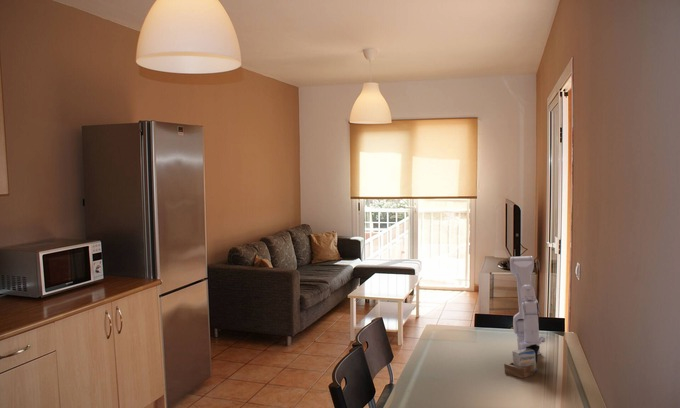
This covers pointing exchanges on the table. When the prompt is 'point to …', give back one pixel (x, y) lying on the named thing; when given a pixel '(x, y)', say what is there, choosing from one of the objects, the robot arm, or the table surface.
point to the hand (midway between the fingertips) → (533, 362)
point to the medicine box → (524, 358)
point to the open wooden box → (519, 370)
